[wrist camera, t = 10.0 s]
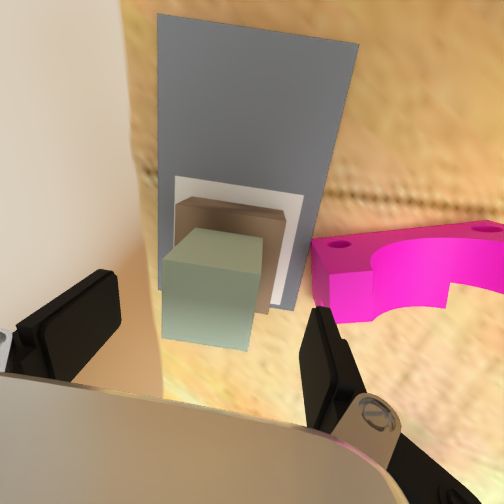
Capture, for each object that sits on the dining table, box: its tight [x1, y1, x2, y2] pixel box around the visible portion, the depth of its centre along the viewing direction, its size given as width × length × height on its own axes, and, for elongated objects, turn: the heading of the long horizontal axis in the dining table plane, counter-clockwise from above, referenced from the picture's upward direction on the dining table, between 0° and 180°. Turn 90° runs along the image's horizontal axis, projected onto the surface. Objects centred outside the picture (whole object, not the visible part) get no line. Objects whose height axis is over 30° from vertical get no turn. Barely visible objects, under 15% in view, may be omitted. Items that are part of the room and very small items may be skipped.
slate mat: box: [157, 13, 359, 311], centre depth 21 cm, size 14×22×1 cm, turn 172°
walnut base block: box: [174, 196, 287, 314], centre depth 20 cm, size 8×8×4 cm
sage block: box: [162, 227, 263, 352], centre depth 16 cm, size 5×5×6 cm
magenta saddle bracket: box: [310, 220, 504, 324], centre depth 19 cm, size 15×6×8 cm, turn 98°
